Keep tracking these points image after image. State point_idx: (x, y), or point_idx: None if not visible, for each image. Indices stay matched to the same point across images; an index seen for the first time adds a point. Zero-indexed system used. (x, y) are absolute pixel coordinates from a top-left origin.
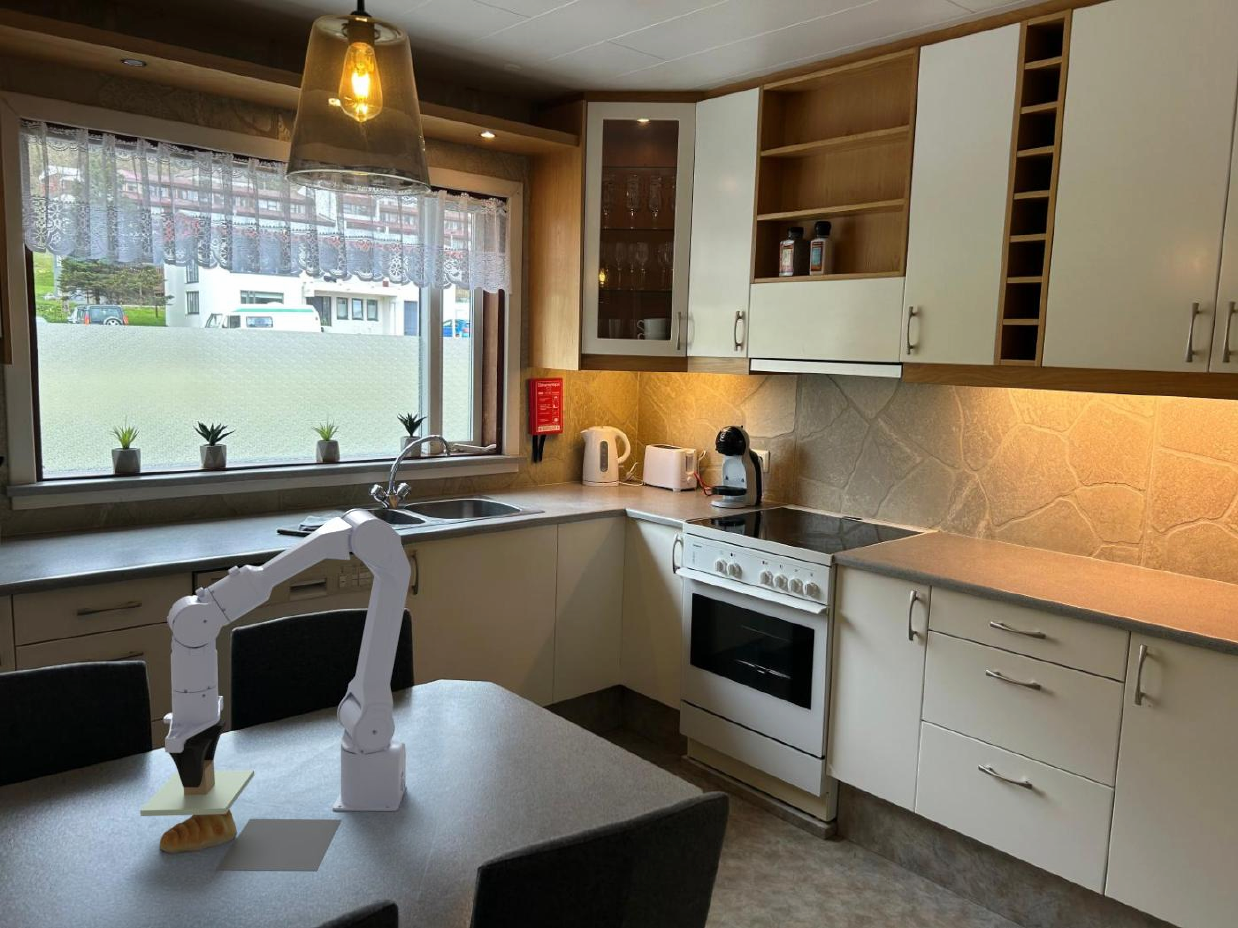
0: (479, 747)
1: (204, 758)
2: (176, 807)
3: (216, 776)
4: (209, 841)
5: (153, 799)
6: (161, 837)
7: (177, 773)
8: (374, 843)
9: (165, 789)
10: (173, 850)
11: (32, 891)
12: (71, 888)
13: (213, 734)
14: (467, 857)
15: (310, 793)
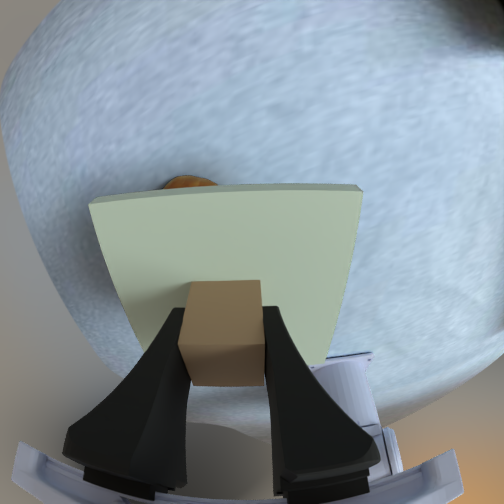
0: (407, 395)
1: (185, 421)
2: (124, 289)
3: (305, 315)
4: None
5: (152, 206)
6: (176, 185)
7: (348, 201)
8: (235, 393)
9: (223, 212)
10: None
11: (38, 52)
12: (48, 103)
13: (273, 465)
14: (221, 423)
15: (366, 327)
